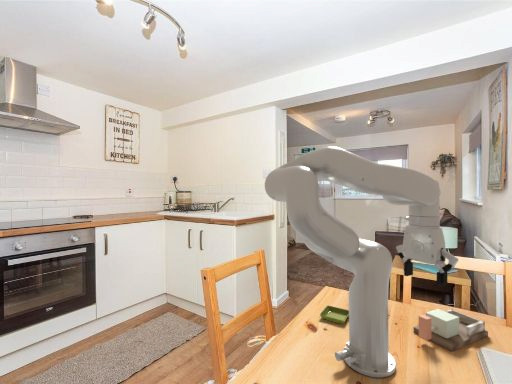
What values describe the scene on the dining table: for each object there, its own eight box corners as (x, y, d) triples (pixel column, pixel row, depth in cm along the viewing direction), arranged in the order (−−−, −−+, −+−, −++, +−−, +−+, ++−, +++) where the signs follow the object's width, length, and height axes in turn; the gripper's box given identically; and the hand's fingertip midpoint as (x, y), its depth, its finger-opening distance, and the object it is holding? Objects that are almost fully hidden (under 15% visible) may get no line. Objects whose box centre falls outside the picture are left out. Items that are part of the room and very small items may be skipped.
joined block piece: (433, 343, 72) (433, 322, 72) (412, 333, 77) (412, 313, 77) (459, 333, 76) (459, 313, 76) (438, 324, 82) (438, 305, 82)
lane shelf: (451, 351, 71) (451, 337, 71) (413, 331, 81) (413, 318, 81) (488, 336, 78) (487, 322, 78) (448, 319, 88) (448, 308, 88)
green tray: (319, 320, 90) (319, 314, 90) (327, 310, 97) (327, 304, 97) (344, 327, 85) (344, 321, 85) (351, 316, 92) (351, 310, 92)
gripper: (388, 219, 81) (389, 273, 81) (447, 226, 65) (448, 293, 65) (405, 218, 84) (405, 270, 84) (465, 224, 68) (465, 288, 68)
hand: (424, 280), depth 75 cm, fingers open, 9 cm apart
